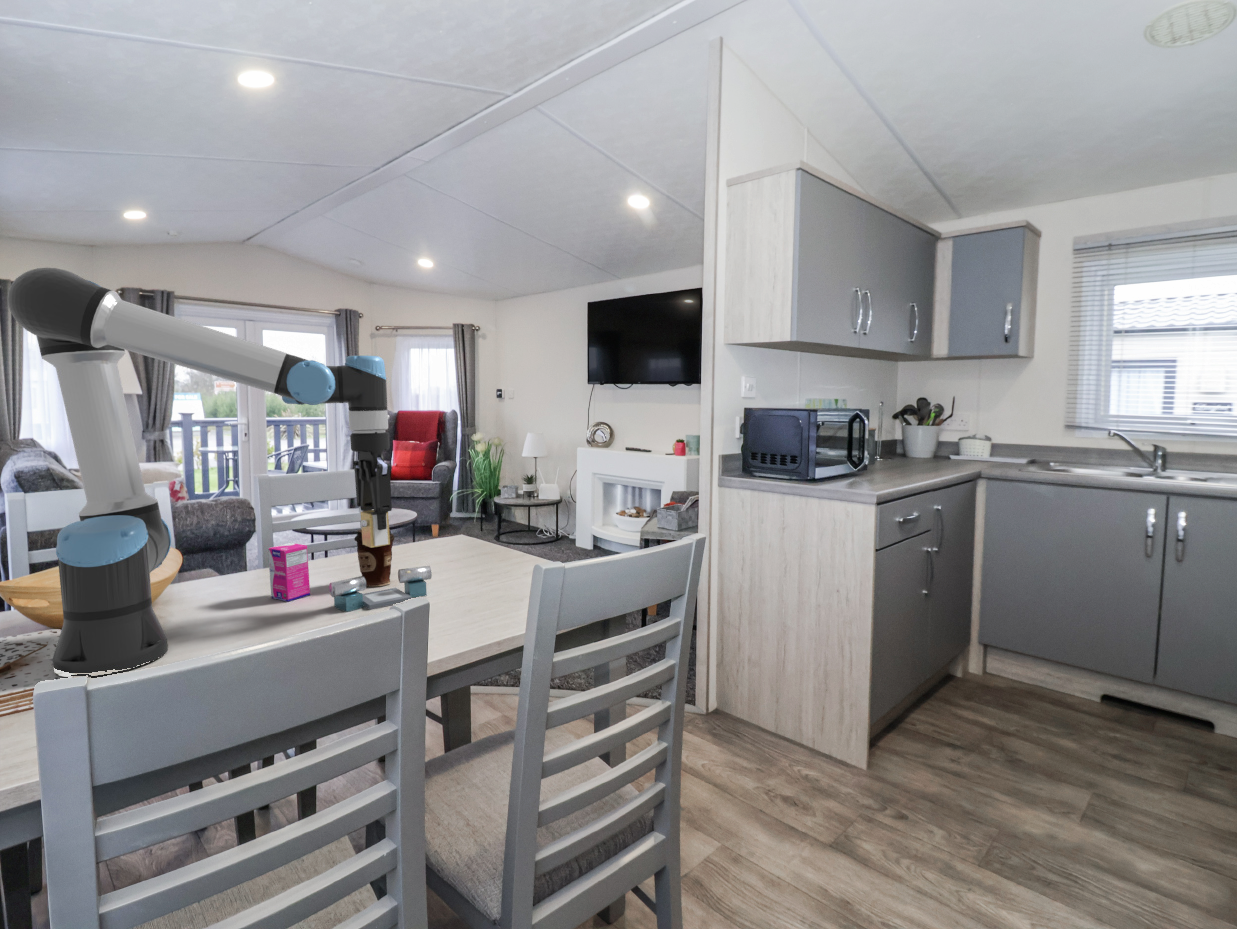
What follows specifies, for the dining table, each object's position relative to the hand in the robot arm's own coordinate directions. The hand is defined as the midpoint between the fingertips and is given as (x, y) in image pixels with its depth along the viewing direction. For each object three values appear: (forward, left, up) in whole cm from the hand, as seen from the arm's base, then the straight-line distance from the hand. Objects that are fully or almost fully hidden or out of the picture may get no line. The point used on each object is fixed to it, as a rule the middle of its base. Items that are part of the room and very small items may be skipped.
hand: (375, 542), depth 138 cm
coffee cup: (+5, +16, -14) cm, 22 cm away
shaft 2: (+9, +2, -13) cm, 16 cm away
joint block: (0, 0, 0) cm, 0 cm away
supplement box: (-13, +18, -14) cm, 26 cm away
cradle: (+2, +2, -13) cm, 14 cm away
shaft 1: (-5, +2, -13) cm, 15 cm away
